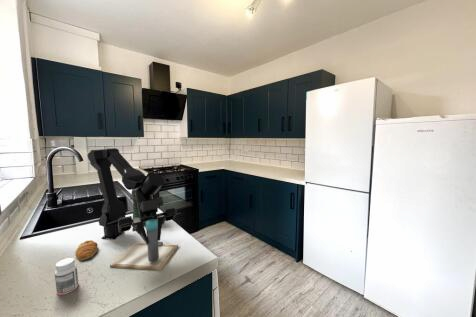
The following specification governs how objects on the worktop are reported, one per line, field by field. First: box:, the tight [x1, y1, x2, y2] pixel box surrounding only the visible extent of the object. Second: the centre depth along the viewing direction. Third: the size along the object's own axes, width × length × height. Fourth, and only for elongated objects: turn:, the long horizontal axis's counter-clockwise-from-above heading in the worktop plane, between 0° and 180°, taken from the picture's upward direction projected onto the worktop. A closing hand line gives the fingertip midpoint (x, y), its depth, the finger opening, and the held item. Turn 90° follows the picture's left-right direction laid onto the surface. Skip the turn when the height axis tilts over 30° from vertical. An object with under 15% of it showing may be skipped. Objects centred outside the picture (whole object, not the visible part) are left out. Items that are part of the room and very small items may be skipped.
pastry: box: [75, 239, 99, 262], centre depth 73 cm, size 9×7×4 cm
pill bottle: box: [54, 257, 79, 296], centre depth 55 cm, size 5×5×8 cm
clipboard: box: [109, 241, 179, 272], centre depth 71 cm, size 18×14×2 cm
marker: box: [145, 219, 159, 262], centre depth 66 cm, size 4×4×14 cm
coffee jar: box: [130, 188, 146, 225], centre depth 100 cm, size 10×8×19 cm
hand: (153, 242), depth 65 cm, fingers closed on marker, 3 cm apart
